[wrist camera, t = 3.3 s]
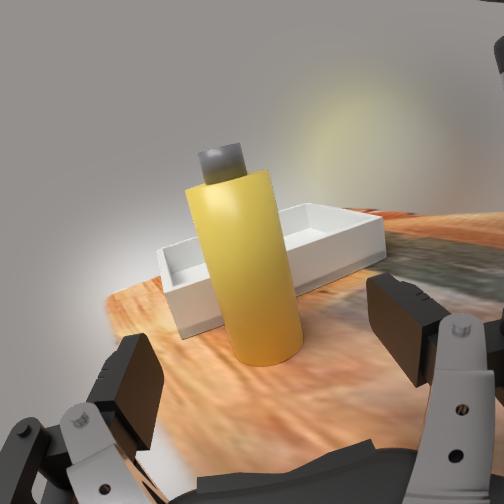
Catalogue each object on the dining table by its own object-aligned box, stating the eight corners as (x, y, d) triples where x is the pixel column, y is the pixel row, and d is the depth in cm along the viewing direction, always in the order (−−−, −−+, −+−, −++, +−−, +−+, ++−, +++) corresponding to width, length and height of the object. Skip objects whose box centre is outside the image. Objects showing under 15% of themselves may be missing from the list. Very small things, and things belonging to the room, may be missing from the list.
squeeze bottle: (285, 316, 25) (245, 143, 21) (316, 346, 20) (274, 134, 16) (226, 340, 24) (173, 161, 20) (246, 376, 19) (181, 155, 15)
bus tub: (313, 231, 45) (307, 202, 44) (386, 257, 31) (382, 216, 29) (167, 281, 40) (156, 249, 39) (182, 339, 25) (164, 293, 24)
